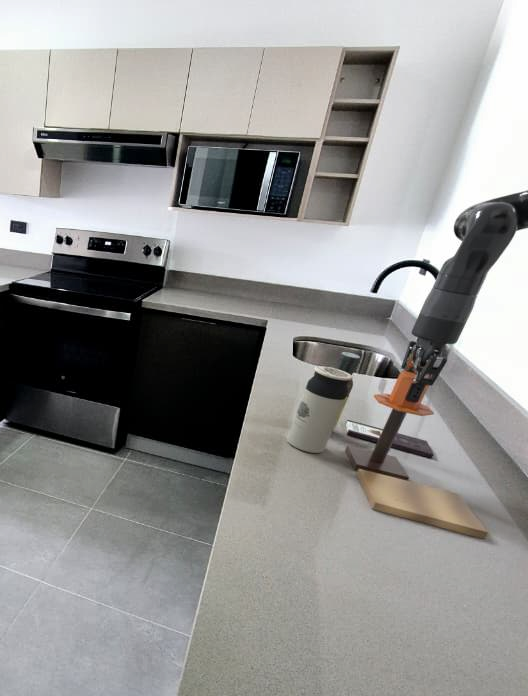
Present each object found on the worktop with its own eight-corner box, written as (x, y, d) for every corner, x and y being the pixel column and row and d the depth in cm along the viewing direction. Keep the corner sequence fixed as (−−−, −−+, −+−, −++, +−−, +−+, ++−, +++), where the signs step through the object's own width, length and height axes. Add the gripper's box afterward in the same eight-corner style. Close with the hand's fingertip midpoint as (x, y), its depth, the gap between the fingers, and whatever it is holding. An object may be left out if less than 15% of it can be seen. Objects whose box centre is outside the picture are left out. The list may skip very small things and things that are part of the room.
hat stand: (392, 462, 113) (424, 397, 106) (406, 483, 104) (441, 413, 97) (344, 450, 115) (372, 386, 108) (353, 470, 106) (384, 401, 100)
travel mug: (317, 441, 118) (346, 369, 110) (328, 457, 111) (360, 381, 103) (282, 434, 119) (308, 363, 111) (291, 450, 111) (320, 374, 104)
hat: (421, 402, 106) (435, 374, 104) (438, 419, 98) (453, 388, 95) (370, 392, 109) (382, 363, 106) (382, 407, 100) (395, 377, 97)
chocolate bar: (433, 454, 117) (348, 431, 123) (431, 458, 117) (347, 434, 124) (426, 440, 124) (347, 419, 131) (425, 444, 125) (345, 422, 131)
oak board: (453, 499, 100) (457, 493, 99) (484, 539, 88) (488, 532, 87) (355, 474, 105) (358, 468, 104) (372, 509, 92) (375, 502, 92)
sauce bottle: (303, 421, 128) (331, 347, 120) (328, 426, 127) (359, 352, 119) (310, 432, 122) (340, 355, 114) (336, 437, 121) (369, 360, 113)
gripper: (482, 326, 88) (439, 413, 95) (451, 312, 101) (415, 390, 108) (434, 318, 90) (395, 404, 97) (410, 305, 103) (377, 382, 110)
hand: (406, 396), depth 103 cm, fingers closed on hat, 5 cm apart
